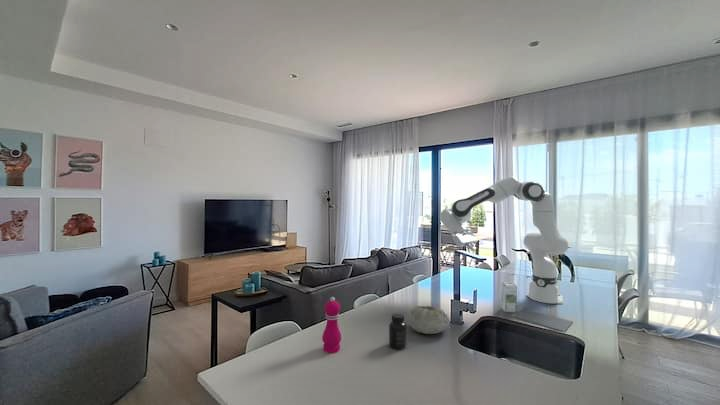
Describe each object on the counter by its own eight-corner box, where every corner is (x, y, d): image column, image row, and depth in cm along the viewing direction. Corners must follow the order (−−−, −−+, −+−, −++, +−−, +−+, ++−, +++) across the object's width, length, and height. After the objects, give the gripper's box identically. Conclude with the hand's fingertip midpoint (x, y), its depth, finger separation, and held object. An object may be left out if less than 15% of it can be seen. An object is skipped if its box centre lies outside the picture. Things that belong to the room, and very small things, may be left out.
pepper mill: (326, 355, 107) (327, 301, 107) (319, 346, 113) (320, 295, 113) (344, 351, 110) (345, 298, 110) (336, 343, 117) (337, 293, 116)
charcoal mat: (523, 309, 157) (523, 308, 157) (572, 322, 141) (573, 321, 141) (512, 317, 146) (512, 316, 146) (564, 332, 130) (564, 331, 130)
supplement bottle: (407, 343, 117) (408, 313, 117) (404, 351, 111) (405, 320, 111) (390, 340, 120) (391, 311, 119) (386, 348, 113) (387, 317, 113)
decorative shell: (415, 318, 142) (416, 298, 142) (453, 327, 133) (453, 305, 133) (402, 333, 127) (402, 310, 127) (443, 343, 118) (444, 319, 118)
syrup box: (512, 309, 158) (512, 282, 158) (516, 313, 152) (517, 285, 152) (501, 308, 158) (501, 281, 158) (505, 312, 152) (505, 284, 152)
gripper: (453, 229, 167) (469, 248, 160) (470, 227, 181) (485, 245, 174) (446, 236, 170) (462, 255, 163) (463, 234, 184) (478, 251, 177)
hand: (474, 250), depth 169 cm, fingers closed
